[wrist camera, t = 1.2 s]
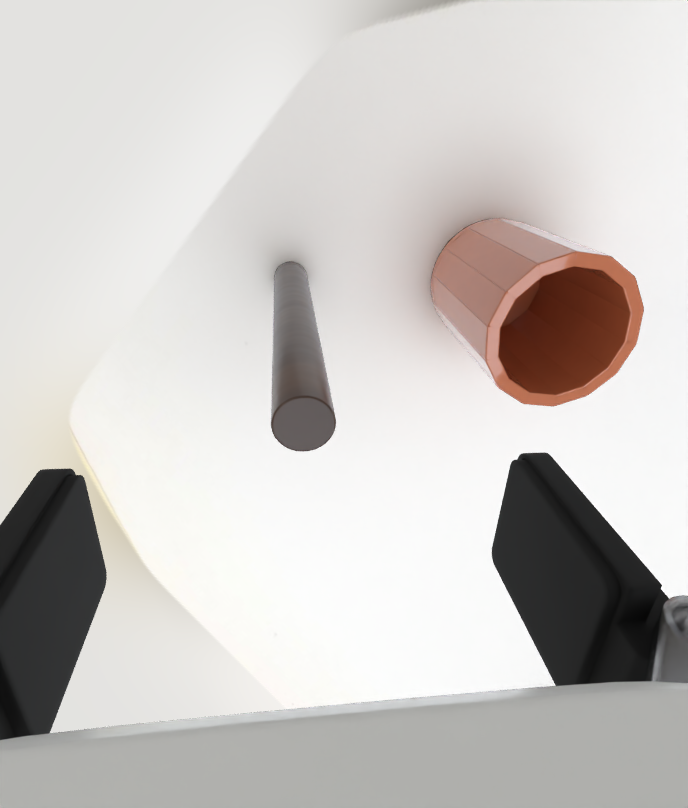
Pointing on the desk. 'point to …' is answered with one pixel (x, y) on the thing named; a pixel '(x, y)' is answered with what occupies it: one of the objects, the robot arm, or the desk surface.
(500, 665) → the desk surface
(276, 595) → the desk surface
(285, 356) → the stick
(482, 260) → the crock
